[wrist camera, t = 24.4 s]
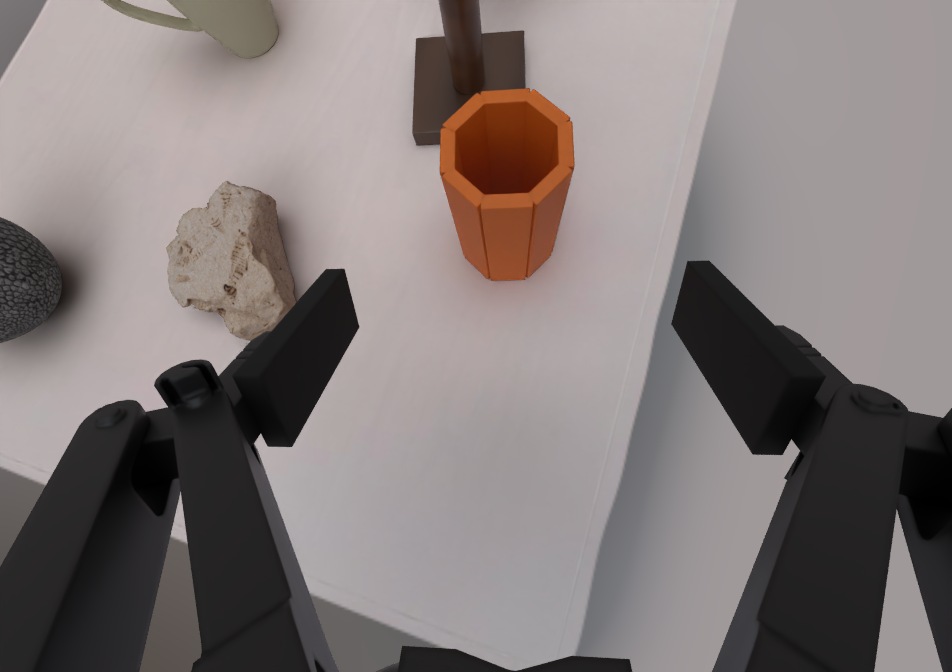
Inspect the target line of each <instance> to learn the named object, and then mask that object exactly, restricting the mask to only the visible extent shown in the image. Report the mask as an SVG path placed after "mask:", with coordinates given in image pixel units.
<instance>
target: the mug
mask: <svg viewBox="0 0 952 672" xmlns="http://www.w3.org/2000/svg"><path fill="white" fill-rule="evenodd" d="M102 1H103V2H104V3H106V4H107V5H108V6H110V7H111V8H113V9H115V10H117V11H119V12H121V13H122V14H125V15H127V16H129V17H132V18H135V19H138V20H141V21H145V22H148V23H152V24H156V25H160V26H165V27H170V28H175V29H180V30H187V31H205V32H206V33H207V34H209V35H210V36H212V37H213V38H214V39H216V40H217V41H218V42H220V43H221V44H222V45H224V46H225V47H226V48H228V49H229V50H230V51H232V52H233V53H234V54H236V55H238V56H240V57H244V58H253V57H257V56H260V55H262V54H264V53H265V52H267V51H268V50H269V49H270V48H271V47H272V46H273V45H274V43H275V42H276V39H277V36H278V26H277V22H276V19H275V15H274V11H273V8H272V4H271V0H167V1H168V2H169V3H170V4H171V5H173V6H174V7H175V8H176V9H177V10H178V11H179V12H181V13H182V14H183V15H184V16H185V17H187V18H188V19H184V18H178V17H174V16H170V15H166V14H162V13H158V12H154V11H150V10H147V9H143V8H140V7H137V6H134V5H131V4H128V3H126V2H123V1H121V0H102Z"/></svg>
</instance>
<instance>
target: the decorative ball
mask: <svg viewBox="0 0 952 672" xmlns="http://www.w3.org/2000/svg"><path fill="white" fill-rule="evenodd" d="M61 290H62V278H61V273H60V270H59V267H58V265H57V263H56V261H55V259H54V257H53V256H52V254H51V253H50V252H49V250H48V249H47V248H46V247H45V246H44V245H43V244H42V243H41V242H40V241H39V240H38V239H37V238H36V237H35V236H33V235H32V234H31V233H29V232H28V231H26V230H25V229H23V228H22V227H20V226H18V225H16V224H14V223H12V222H10V221H8V220H6V219H3V218H1V217H0V343H2V342H5V341H8V340H11V339H14V338H17V337H19V336H21V335H23V334H25V333H27V332H29V331H31V330H32V329H34V328H36V327H37V326H38V325H40V324H41V323H42V322H43V321H44V320H45V319H47V318H48V316H49V315H50V314H51V313H52V312H53V310H54V309H55V307H56V305H57V303H58V301H59V298H60V295H61Z"/></svg>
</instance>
